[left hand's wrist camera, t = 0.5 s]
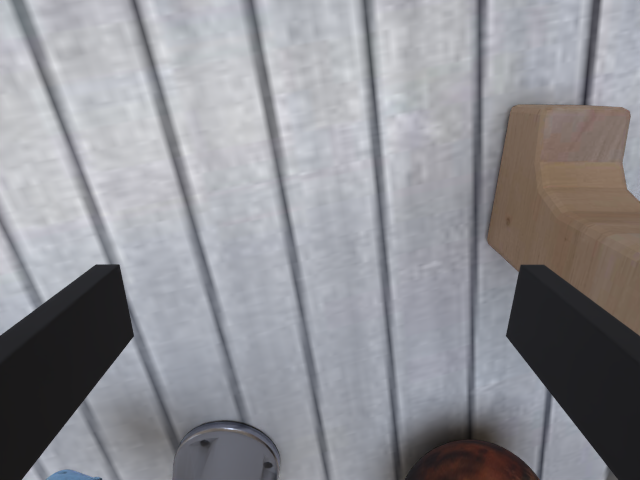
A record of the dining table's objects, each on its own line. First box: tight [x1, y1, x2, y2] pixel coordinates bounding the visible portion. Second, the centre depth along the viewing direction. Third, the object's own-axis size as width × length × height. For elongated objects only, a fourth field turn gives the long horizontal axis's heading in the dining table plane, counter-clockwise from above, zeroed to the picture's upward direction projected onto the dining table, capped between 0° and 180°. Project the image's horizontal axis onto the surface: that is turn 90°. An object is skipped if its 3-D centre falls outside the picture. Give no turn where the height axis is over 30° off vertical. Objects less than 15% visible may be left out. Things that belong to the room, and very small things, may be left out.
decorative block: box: [487, 105, 640, 336], centre depth 27 cm, size 8×15×30 cm, turn 179°
